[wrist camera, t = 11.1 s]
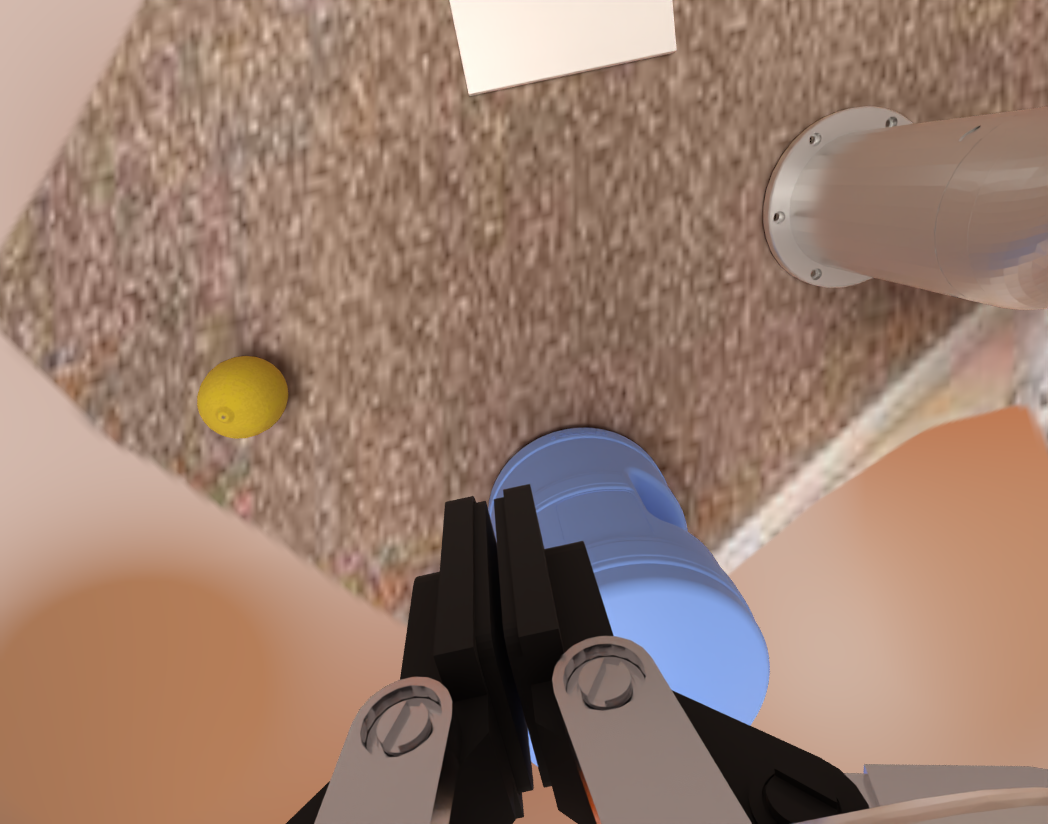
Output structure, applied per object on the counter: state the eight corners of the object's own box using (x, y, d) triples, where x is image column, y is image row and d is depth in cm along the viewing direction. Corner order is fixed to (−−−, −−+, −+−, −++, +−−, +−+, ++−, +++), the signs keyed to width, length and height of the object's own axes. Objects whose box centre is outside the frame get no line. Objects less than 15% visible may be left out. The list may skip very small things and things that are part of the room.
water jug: (493, 585, 54) (514, 955, 28) (481, 429, 48) (494, 716, 23) (658, 570, 55) (825, 914, 29) (666, 416, 49) (882, 675, 24)
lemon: (259, 424, 47) (220, 470, 39) (210, 369, 45) (158, 406, 37) (315, 388, 46) (285, 427, 39) (267, 330, 44) (225, 360, 37)
